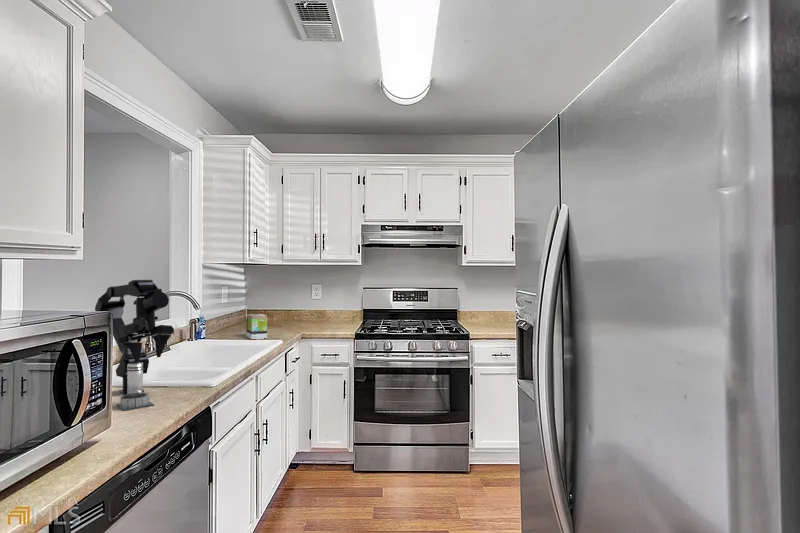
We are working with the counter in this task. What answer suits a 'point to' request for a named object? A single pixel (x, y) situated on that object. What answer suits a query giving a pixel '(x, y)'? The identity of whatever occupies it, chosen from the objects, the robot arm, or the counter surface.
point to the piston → (134, 380)
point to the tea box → (256, 326)
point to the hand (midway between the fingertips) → (147, 359)
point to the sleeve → (134, 402)
